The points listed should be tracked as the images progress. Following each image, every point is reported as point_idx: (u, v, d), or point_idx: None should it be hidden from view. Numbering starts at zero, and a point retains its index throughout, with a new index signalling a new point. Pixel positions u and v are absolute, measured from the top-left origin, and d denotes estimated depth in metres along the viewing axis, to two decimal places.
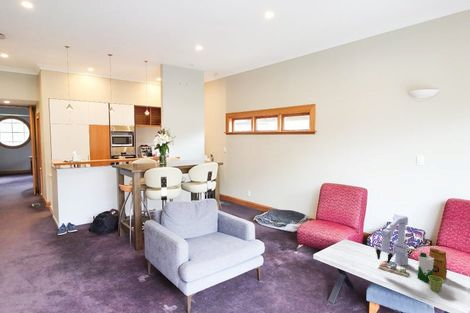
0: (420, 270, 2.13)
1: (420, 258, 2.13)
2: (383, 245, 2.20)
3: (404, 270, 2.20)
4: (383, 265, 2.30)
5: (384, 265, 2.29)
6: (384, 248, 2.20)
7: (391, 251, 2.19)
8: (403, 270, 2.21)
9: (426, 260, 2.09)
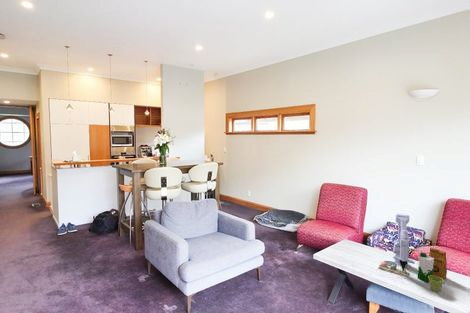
0: (420, 270, 2.13)
1: (420, 258, 2.13)
2: (403, 255, 2.19)
3: (404, 271, 2.20)
4: (383, 265, 2.30)
5: (384, 265, 2.29)
6: (404, 258, 2.19)
7: None
8: (403, 271, 2.21)
9: (426, 260, 2.09)
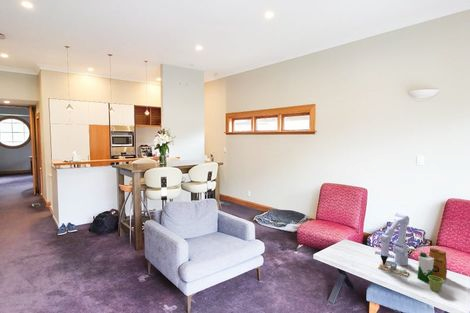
0: (420, 270, 2.13)
1: (420, 258, 2.13)
2: (383, 250, 2.28)
3: (404, 271, 2.20)
4: (383, 266, 2.30)
5: (384, 266, 2.30)
6: (385, 253, 2.28)
7: None
8: (403, 271, 2.21)
9: (426, 260, 2.09)
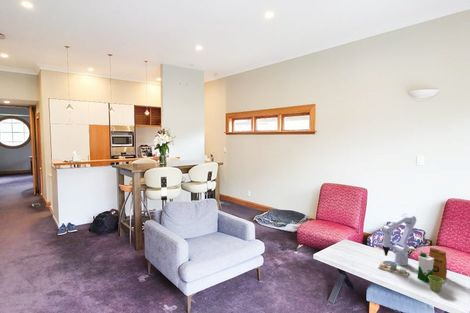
0: (420, 270, 2.13)
1: (420, 258, 2.13)
2: (385, 241, 2.33)
3: (404, 271, 2.20)
4: (383, 266, 2.30)
5: (384, 266, 2.30)
6: (387, 244, 2.32)
7: None
8: (403, 271, 2.21)
9: (426, 260, 2.09)
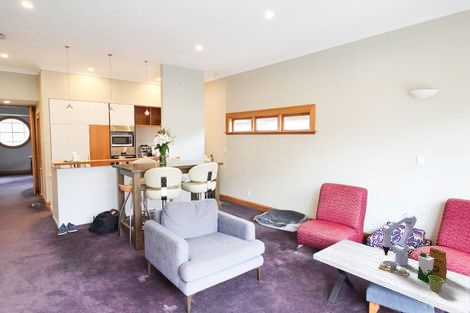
0: (420, 270, 2.13)
1: (420, 258, 2.13)
2: (385, 241, 2.33)
3: (404, 271, 2.20)
4: (383, 266, 2.30)
5: (384, 266, 2.30)
6: (387, 244, 2.32)
7: None
8: (403, 271, 2.21)
9: (426, 260, 2.09)
